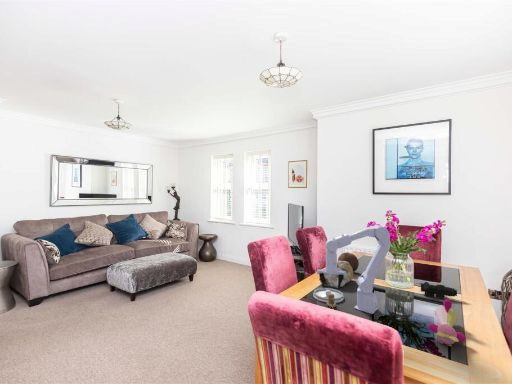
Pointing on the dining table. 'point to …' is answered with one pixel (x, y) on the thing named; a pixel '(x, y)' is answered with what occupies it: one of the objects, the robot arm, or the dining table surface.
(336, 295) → the carrier plate
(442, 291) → the night vision scope
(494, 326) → the dining table surface
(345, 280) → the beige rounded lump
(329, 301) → the gear
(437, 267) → the dining table surface
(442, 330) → the toy
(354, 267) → the wooden sphere
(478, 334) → the dining table surface
